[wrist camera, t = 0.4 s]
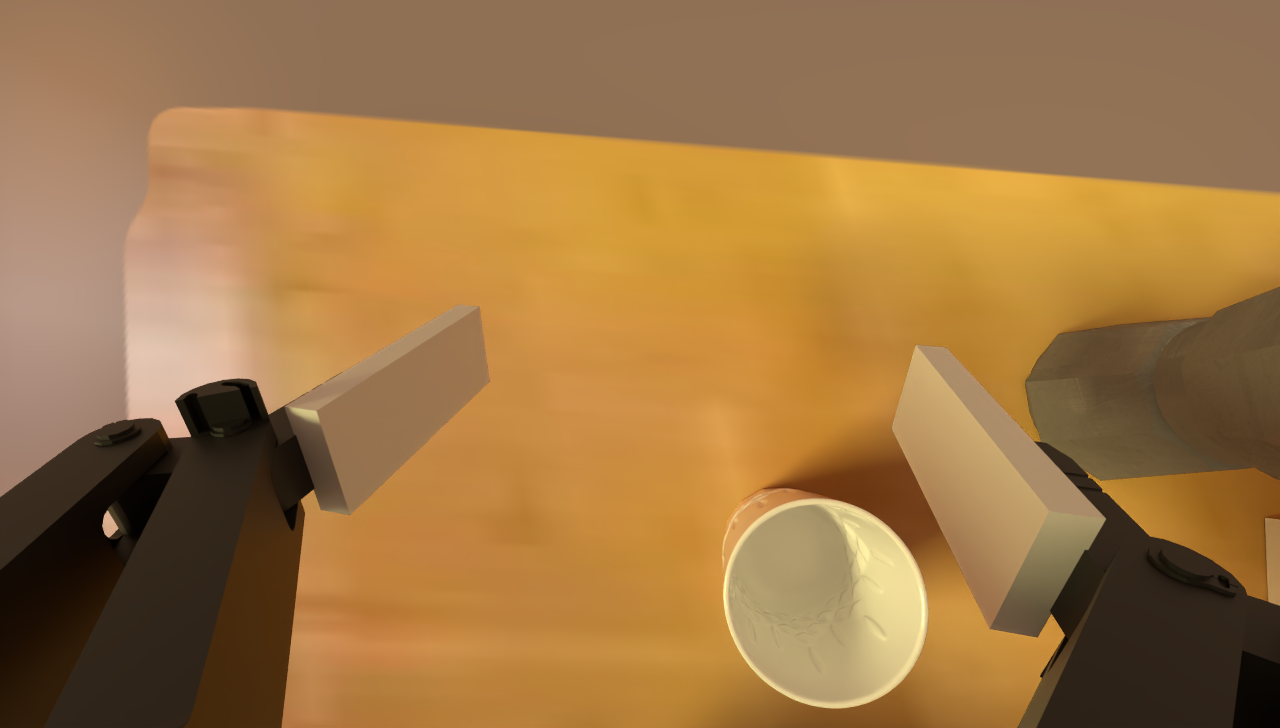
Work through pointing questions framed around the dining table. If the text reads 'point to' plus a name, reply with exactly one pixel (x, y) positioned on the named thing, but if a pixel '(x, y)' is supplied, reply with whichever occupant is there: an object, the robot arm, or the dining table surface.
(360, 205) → the dining table surface
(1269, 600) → the socket block
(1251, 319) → the coffeepot
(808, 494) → the white cup
